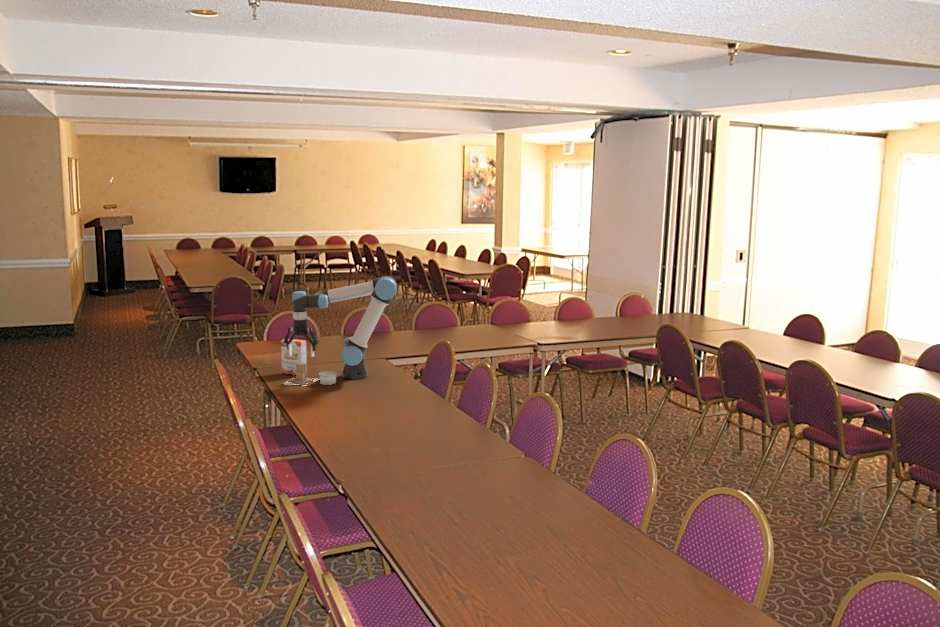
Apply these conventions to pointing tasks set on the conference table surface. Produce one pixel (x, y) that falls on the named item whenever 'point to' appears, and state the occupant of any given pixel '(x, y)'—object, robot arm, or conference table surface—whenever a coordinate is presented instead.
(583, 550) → the conference table surface
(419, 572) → the conference table surface
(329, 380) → the bowl
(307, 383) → the mat
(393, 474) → the conference table surface
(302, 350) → the cracker box
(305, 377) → the lid
